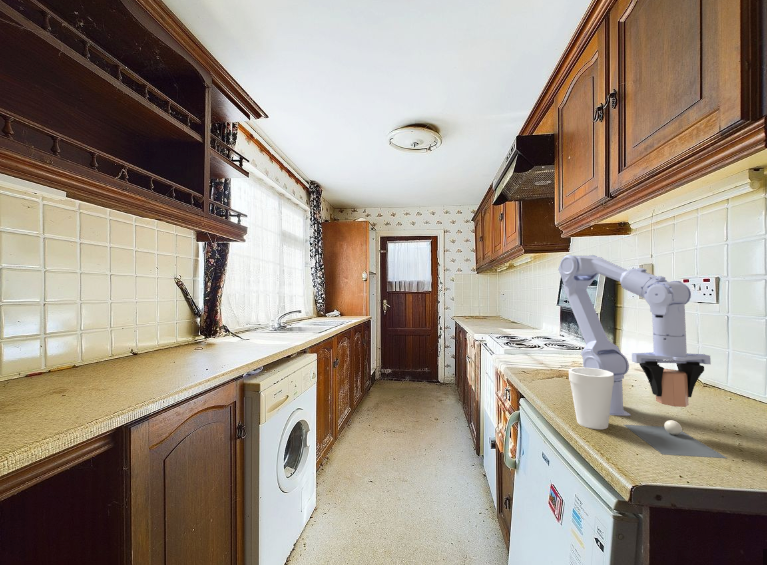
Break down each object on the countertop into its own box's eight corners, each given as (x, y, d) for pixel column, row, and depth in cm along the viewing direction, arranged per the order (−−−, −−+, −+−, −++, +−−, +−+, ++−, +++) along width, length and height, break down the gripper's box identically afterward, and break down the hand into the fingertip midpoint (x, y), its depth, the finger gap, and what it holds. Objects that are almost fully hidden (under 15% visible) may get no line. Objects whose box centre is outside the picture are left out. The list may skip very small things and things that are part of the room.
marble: (661, 431, 77) (660, 417, 77) (676, 431, 77) (675, 418, 77) (670, 436, 74) (669, 422, 74) (685, 437, 74) (685, 423, 74)
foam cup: (564, 425, 82) (563, 372, 83) (576, 415, 89) (575, 365, 89) (610, 437, 76) (608, 378, 76) (620, 425, 82) (618, 371, 82)
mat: (623, 426, 81) (623, 424, 81) (675, 428, 79) (675, 426, 79) (662, 456, 67) (662, 454, 67) (727, 460, 65) (727, 458, 65)
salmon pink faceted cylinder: (651, 398, 79) (650, 368, 79) (677, 399, 78) (676, 369, 78) (666, 406, 74) (664, 373, 74) (693, 407, 73) (692, 374, 73)
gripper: (643, 337, 74) (645, 399, 73) (720, 337, 71) (723, 402, 71) (626, 333, 80) (628, 390, 80) (696, 333, 78) (698, 392, 77)
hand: (671, 395), depth 76 cm, fingers closed on salmon pink faceted cylinder, 5 cm apart
